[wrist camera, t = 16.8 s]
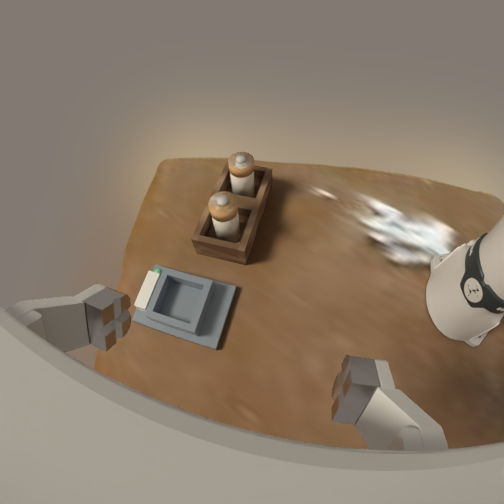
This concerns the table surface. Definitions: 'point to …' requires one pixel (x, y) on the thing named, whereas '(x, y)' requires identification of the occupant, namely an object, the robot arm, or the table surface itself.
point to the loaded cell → (242, 174)
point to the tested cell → (225, 216)
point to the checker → (184, 305)
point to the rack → (248, 219)
